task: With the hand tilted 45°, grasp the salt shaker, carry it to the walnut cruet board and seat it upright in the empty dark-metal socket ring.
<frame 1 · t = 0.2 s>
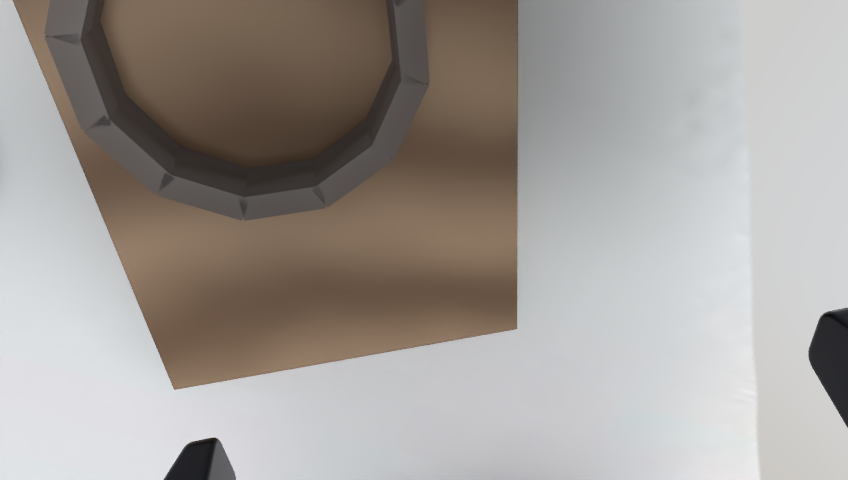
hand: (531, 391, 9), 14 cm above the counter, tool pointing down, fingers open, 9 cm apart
cruet board: (310, 144, 22), on the counter
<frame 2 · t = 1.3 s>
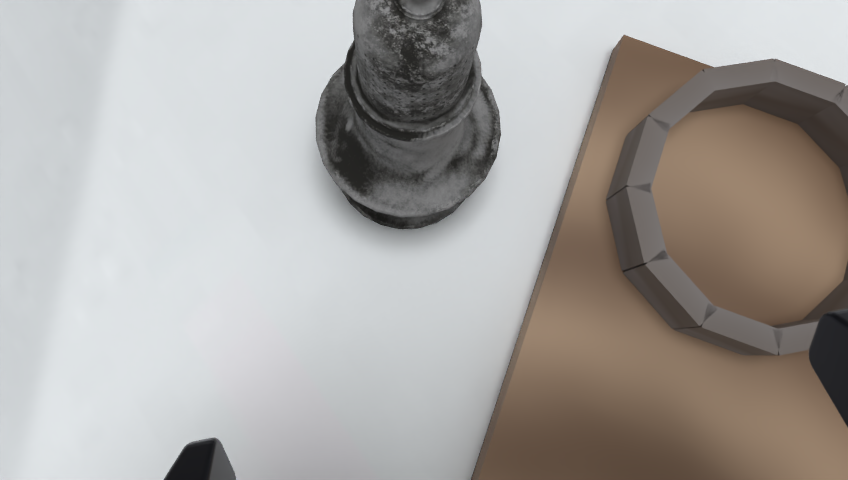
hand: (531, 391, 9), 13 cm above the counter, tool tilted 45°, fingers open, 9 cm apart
cruet board: (723, 331, 23), on the counter
salt shaker: (405, 160, 24), on the counter
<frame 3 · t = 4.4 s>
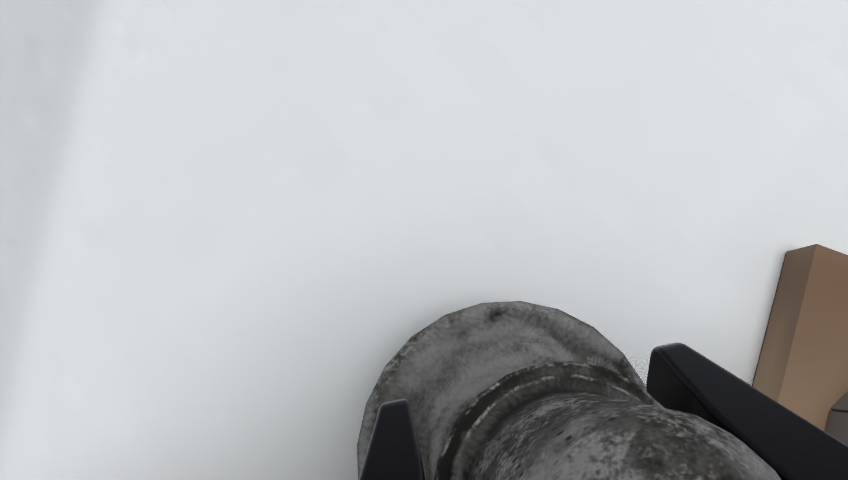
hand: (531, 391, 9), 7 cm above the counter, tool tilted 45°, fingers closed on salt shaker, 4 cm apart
salt shaker: (484, 432, 16), on the counter, touching gripper
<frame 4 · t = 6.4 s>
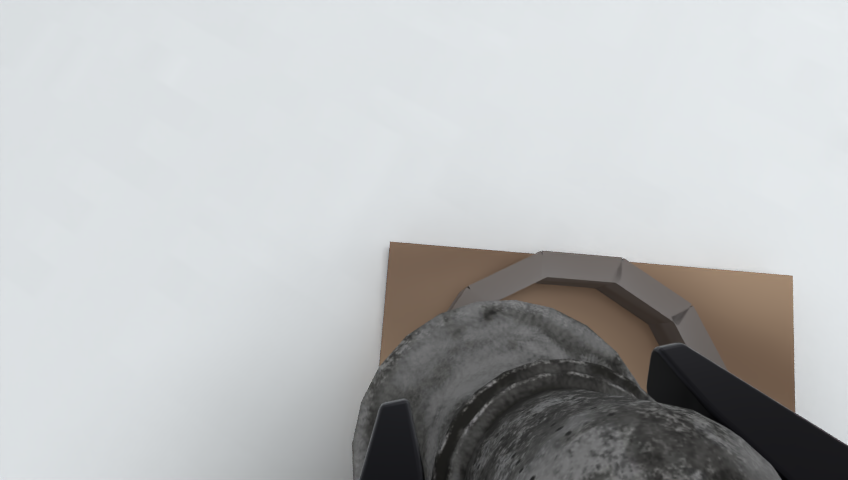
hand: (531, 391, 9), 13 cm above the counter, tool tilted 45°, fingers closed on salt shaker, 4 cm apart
salt shaker: (477, 431, 16), point 6 cm above the counter, touching gripper
when the fingers open (9 cm above the counter, at t = 8.5 s): salt shaker stays where it is, resting on cruet board.
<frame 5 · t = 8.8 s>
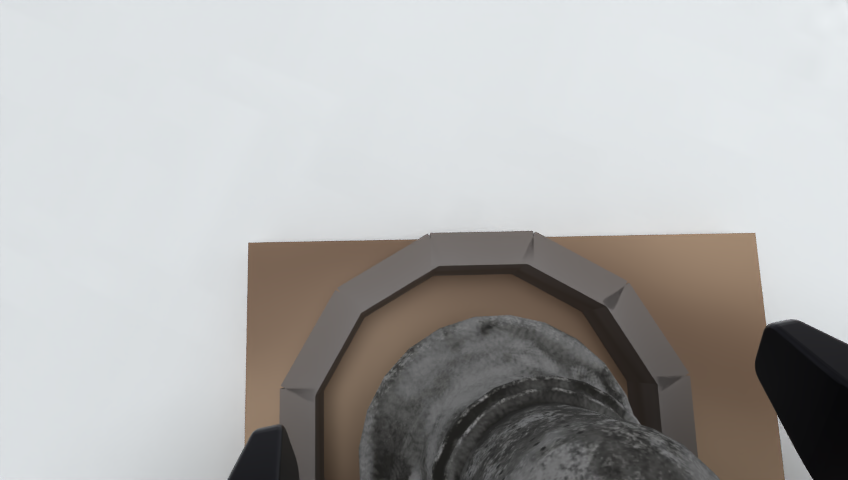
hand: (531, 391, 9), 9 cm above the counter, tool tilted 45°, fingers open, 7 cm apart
salt shaker: (477, 435, 17), point 1 cm above the counter, touching cruet board
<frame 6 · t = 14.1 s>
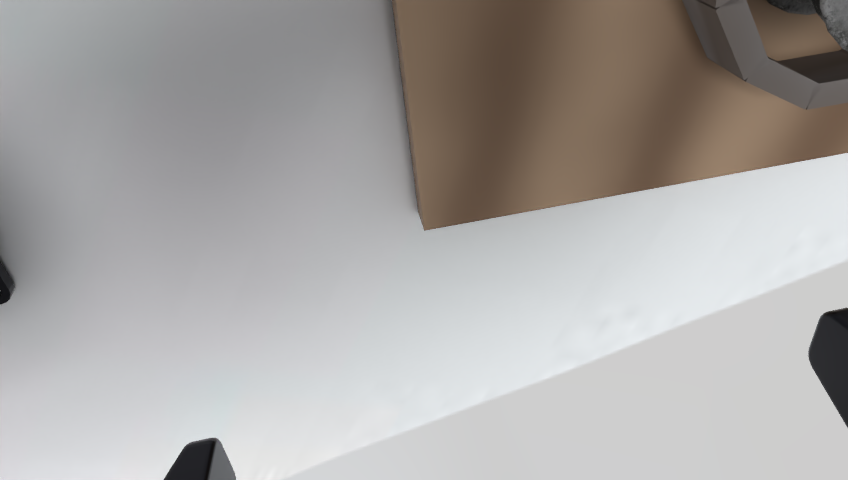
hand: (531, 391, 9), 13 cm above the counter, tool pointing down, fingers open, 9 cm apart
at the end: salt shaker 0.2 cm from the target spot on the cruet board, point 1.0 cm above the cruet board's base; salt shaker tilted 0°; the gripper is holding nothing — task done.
